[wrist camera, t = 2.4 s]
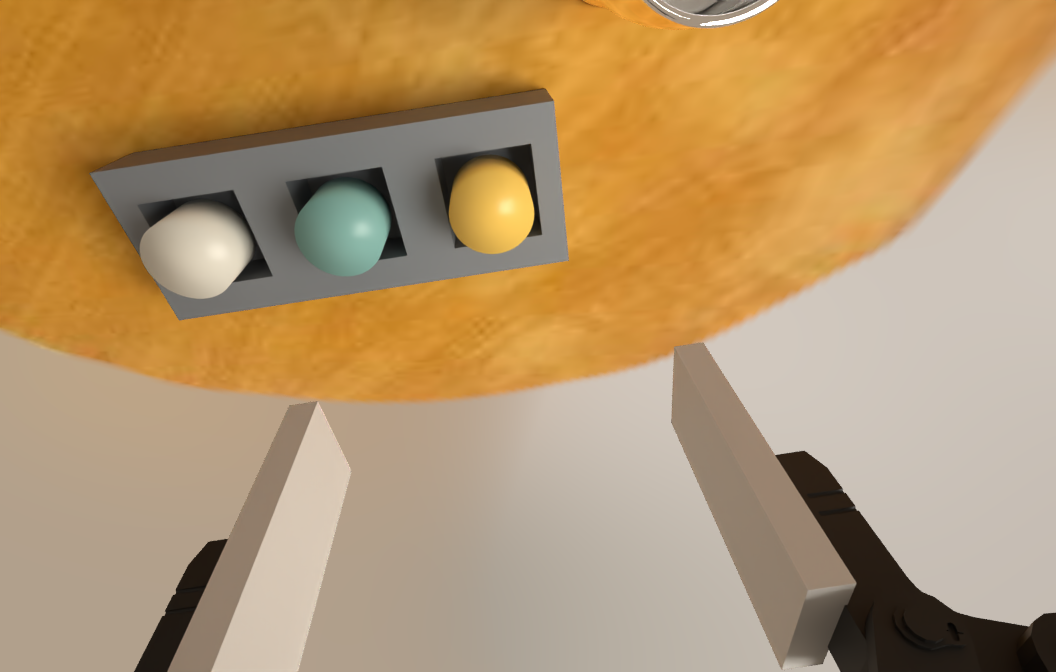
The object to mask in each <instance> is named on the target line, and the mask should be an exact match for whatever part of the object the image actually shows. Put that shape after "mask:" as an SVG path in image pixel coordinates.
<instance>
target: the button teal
mask: <svg viewBox="0 0 1056 672" xmlns="http://www.w3.org/2000/svg"><path fill="white" fill-rule="evenodd" d="M391 224H392V216H391V210H390V207H389V205H388V203H387V201H386V199H385V198H384V196H383V195H382V194H381V193H380V191H378V190H377V189H376V188H375V187H374V186H372V185H371V184H369V183H367V182H366V181H363V180H361V179H357V178H353V177H338V178H334V179H332V180H329V181H327V182H326V183H324V184H323V185H322V186H321V187H320V188H319V189H318V190H317V191H316V193H315V194H314V195H313V196H312V197H311V199H310V200H309V201H308V202H307V204H306V205H305V206H304V207H303V209H302V210H301V211H300V213H299V214H298V216H297V219H296V222H295V228H294V231H295V239H296V242H297V245H298V247H299V249H300V251H301V252H302V254H303V255H304V256H305V258H306V259H307V260H308V261H309V262H310V263H311V264H313V265H314V266H315V267H317V268H318V269H320V270H322V271H324V272H326V273H329V274H332V275H336V276H355V275H359V274H362V273H364V272H366V271H368V270H369V269H371V268H372V267H373V266H374V265H375V264H376V262H377V261H378V260H379V258H380V256H381V253H382V250H383V247H384V245H385V242H386V239H387V237H388V234H389V231H390V229H391Z"/></svg>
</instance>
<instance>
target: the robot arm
mask: <svg viewBox="0 0 1056 672" xmlns="http://www.w3.org/2000/svg"><path fill="white" fill-rule="evenodd" d="M671 423H672V425H673V427H674V429H675V432H676V434H677V436H678V438H679V441H680V443H681V445H682V447H683V450H684V452H685V454H686V456H687V459H688V461H689V463H690V465H691V468H692V470H693V472H694V474H695V477H696V479H697V481H698V483H699V485H700V488H701V490H702V492H703V495H704V497H705V499H706V501H707V503H708V506H709V508H710V510H711V512H712V515H713V517H714V519H715V521H716V524H717V526H718V528H719V530H720V533H721V535H722V537H723V539H724V542H725V544H726V546H727V548H728V551H729V553H730V555H731V557H732V559H733V562H734V564H735V566H736V569H737V571H738V573H739V575H740V577H741V580H742V582H743V584H744V586H745V588H746V591H747V593H748V595H749V598H750V600H751V602H752V604H753V607H754V609H755V611H756V613H757V616H758V618H759V620H760V622H761V625H762V627H763V629H764V631H765V633H766V636H767V638H768V640H769V643H770V645H771V647H772V649H773V651H774V654H775V656H776V658H777V660H778V663H779V665H780V667H781V669H782V670H785V669H792V668H799V667H806V666H812V665H818V664H823V662H824V659H825V657H826V655H827V652H828V650H829V651H830V653H831V654H832V656H833V658H834V660H835V662H836V664H837V666H838V667H839V669H840V671H841V672H1056V613H1048V614H1043V615H1042V616H1040V617H1039V618H1038V619H1036V620H1035V621H1034V622H1033V623H1032V624H1031V625H1030V626H1029V627H1028V626H1022V625H1016V624H1011V623H1005V622H998V621H993V620H987V619H981V618H975V617H971V616H968V615H964V614H960V613H957V612H955V611H953V610H952V609H950V608H949V607H947V606H946V605H944V604H943V603H942V602H940V601H939V600H937V599H936V598H935V597H933V596H930V595H927V594H925V593H923V592H921V591H920V590H919V589H918V588H917V587H916V586H915V585H914V584H913V583H912V582H911V581H910V580H909V579H908V577H907V576H906V575H905V573H904V572H903V571H902V569H901V568H900V567H899V565H898V564H897V562H896V561H895V560H894V558H893V557H892V556H891V554H890V553H889V552H888V550H887V549H886V547H885V546H884V545H883V543H882V542H881V541H880V539H879V538H878V536H877V535H876V534H875V532H874V531H873V530H872V528H871V527H870V526H869V524H868V523H867V521H866V520H865V519H864V517H863V516H862V515H861V513H860V512H859V511H857V510H856V509H855V505H854V504H853V502H852V501H851V500H850V498H849V497H848V496H847V494H846V493H844V492H843V489H842V487H841V486H840V484H839V483H838V482H837V480H836V479H835V478H834V477H833V475H832V474H831V472H830V471H829V470H828V468H827V467H825V466H824V465H823V464H822V463H820V462H819V461H817V460H816V459H815V458H813V457H812V456H811V455H809V454H808V453H807V452H805V451H800V452H793V453H786V454H780V455H775V454H774V453H773V451H772V450H771V448H770V447H769V445H768V444H767V442H766V440H765V439H764V437H763V436H762V434H761V432H760V431H759V429H758V428H757V426H756V425H755V423H754V421H753V420H752V418H751V417H750V415H749V414H748V412H747V410H746V409H745V407H744V406H743V404H742V403H741V401H740V400H739V398H738V396H737V395H736V393H735V392H734V390H733V389H732V387H731V385H730V384H729V382H728V381H727V379H726V378H725V376H724V374H723V373H722V371H721V370H720V368H719V367H718V365H717V363H716V362H715V360H714V359H713V357H712V356H711V354H710V352H709V351H708V350H707V348H706V346H705V345H704V343H696V344H690V345H683V346H676V347H674V368H673V395H672V419H671ZM350 474H351V469H350V467H349V465H348V463H347V461H346V459H345V456H344V455H343V452H342V450H341V449H340V446H339V444H338V442H337V440H336V438H335V436H334V434H333V432H332V429H331V428H330V425H329V423H328V421H327V419H326V417H325V415H324V413H323V411H322V409H321V407H320V405H319V403H318V401H316V402H309V403H304V404H297V405H290V406H289V408H288V410H287V412H286V414H285V416H284V419H283V421H282V423H281V425H280V427H279V429H278V432H277V434H276V436H275V438H274V440H273V442H272V444H271V447H270V449H269V451H268V453H267V456H266V458H265V460H264V462H263V464H262V466H261V468H260V471H259V473H258V475H257V477H256V480H255V482H254V484H253V486H252V488H251V490H250V493H249V495H248V497H247V499H246V501H245V503H244V506H243V508H242V510H241V512H240V514H239V517H238V519H237V521H236V523H235V525H234V528H233V530H232V532H231V534H230V536H229V538H228V539H224V540H217V541H210V542H208V543H207V544H206V545H205V547H204V548H203V549H202V550H201V551H200V552H199V554H197V556H196V557H195V558H194V559H193V560H192V561H191V563H190V564H189V565H188V567H187V569H186V571H185V573H184V574H183V577H182V579H181V580H180V582H179V584H178V586H177V588H176V594H175V595H173V596H172V598H171V601H170V602H169V604H168V606H167V608H166V610H165V612H166V614H165V616H162V618H161V620H160V622H159V624H158V626H157V628H156V630H155V632H154V634H153V636H152V638H151V640H150V641H149V644H148V646H147V648H146V649H145V651H144V653H143V655H142V657H141V659H140V661H139V663H138V665H137V667H136V669H135V671H134V672H298V669H299V666H300V662H301V658H302V654H303V651H304V647H305V643H306V639H307V635H308V632H309V628H310V624H311V621H312V617H313V613H314V609H315V605H316V602H317V598H318V594H319V591H320V587H321V583H322V579H323V576H324V572H325V568H326V564H327V561H328V557H329V553H330V549H331V546H332V542H333V538H334V534H335V531H336V527H337V523H338V519H339V516H340V512H341V508H342V504H343V501H344V497H345V493H346V489H347V486H348V482H349V478H350Z"/></svg>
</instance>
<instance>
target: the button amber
mask: <svg viewBox="0 0 1056 672" xmlns="http://www.w3.org/2000/svg"><path fill="white" fill-rule="evenodd" d="M449 219H450V224H451V227H452V229H453V231H454V233H455V235H456V236H457V237H458V239H459V240H460V241H461V242H462V243H463V244H465V245H466V246H467V247H469V248H471V249H472V250H475V251H477V252H481V253H485V254H499V253H504V252H507V251H509V250H511V249H513V248H515V247H517V246H518V245H519V244H520V243H522V242H523V240H524V239H525V238H526V237H527V235H528V234H529V232H530V230H531V228H532V225H533V221H534V206H533V202H532V198H531V194H530V190H529V186H528V182H527V179H526V177H525V175H524V173H523V172H522V170H521V169H520V168H519V167H518V166H517V165H516V164H515V163H514V162H512V161H511V160H509V159H507V158H505V157H502V156H499V155H490V154H488V155H481V156H478V157H475V158H473V159H471V160H469V161H468V162H466V163H465V164H464V165H463V166H462V167H461V168H460V169H459V171H458V172H457V174H456V176H455V178H454V181H453V184H452V191H451V198H450V206H449Z"/></svg>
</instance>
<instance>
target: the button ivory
mask: <svg viewBox="0 0 1056 672" xmlns="http://www.w3.org/2000/svg"><path fill="white" fill-rule="evenodd" d="M255 249H256V242H255V237H254V234H253V232H252V230H251V227H250V226H249V224H248V223H247V221H246V220H245V219H244V218H243V217H242V216H241V215H240V214H239V213H238V212H236V211H235V210H234V209H232V208H230V207H229V206H227V205H225V204H223V203H220V202H217V201H213V200H208V199H196V200H191V201H189V202H186V203H184V204H183V205H181V206H180V207H178V208H177V209H176V210H174V211H173V212H171V213H170V214H169V215H167V216H166V217H164V218H163V219H162V220H160V221H159V222H157V223H156V224H155V225H153V226H152V227H150V228H149V229H148V230H147V231H146V232H145V233H144V235H143V237H142V239H141V242H140V256H141V259H142V262H143V264H144V266H145V268H146V269H147V271H148V272H149V274H150V275H151V276H152V277H153V278H154V279H155V280H156V281H157V282H158V283H159V284H161V285H162V286H163V287H165V288H166V289H168V290H170V291H172V292H174V293H176V294H179V295H181V296H185V297H189V298H195V299H205V298H211V297H215V296H217V295H219V294H221V293H223V292H224V291H225V290H226V289H227V288H228V287H229V286H230V284H231V283H232V282H233V281H234V280H235V279H236V277H237V276H238V275H239V274H240V273H241V272H242V270H243V269H244V268H245V267H246V266H247V264H248V263H249V262H250V261H251V259H252V258H253V256H254V254H255Z"/></svg>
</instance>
